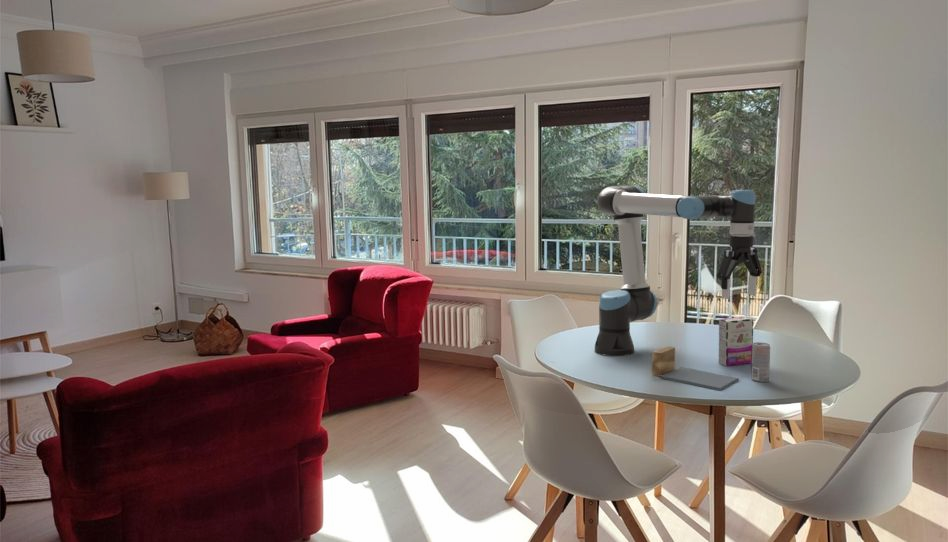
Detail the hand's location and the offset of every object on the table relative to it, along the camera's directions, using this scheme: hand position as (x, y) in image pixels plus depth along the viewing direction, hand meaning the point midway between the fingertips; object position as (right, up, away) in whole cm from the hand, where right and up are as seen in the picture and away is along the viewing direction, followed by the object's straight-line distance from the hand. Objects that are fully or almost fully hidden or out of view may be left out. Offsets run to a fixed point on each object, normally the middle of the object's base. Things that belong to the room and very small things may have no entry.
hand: (738, 296), depth 216 cm
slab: (-26, -26, 0) cm, 37 cm away
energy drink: (+2, -27, -11) cm, 29 cm away
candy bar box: (+2, -25, +8) cm, 26 cm away
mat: (-17, -27, -9) cm, 33 cm away
